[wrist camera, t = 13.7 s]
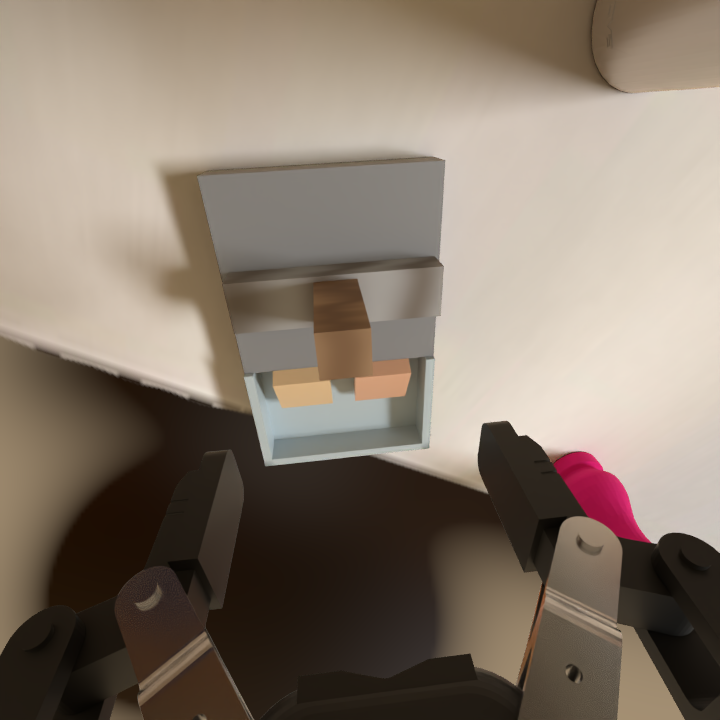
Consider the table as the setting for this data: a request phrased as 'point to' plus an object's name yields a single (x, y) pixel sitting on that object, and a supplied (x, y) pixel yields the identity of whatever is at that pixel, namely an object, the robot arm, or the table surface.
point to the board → (326, 238)
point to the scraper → (335, 305)
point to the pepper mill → (599, 494)
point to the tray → (343, 420)
